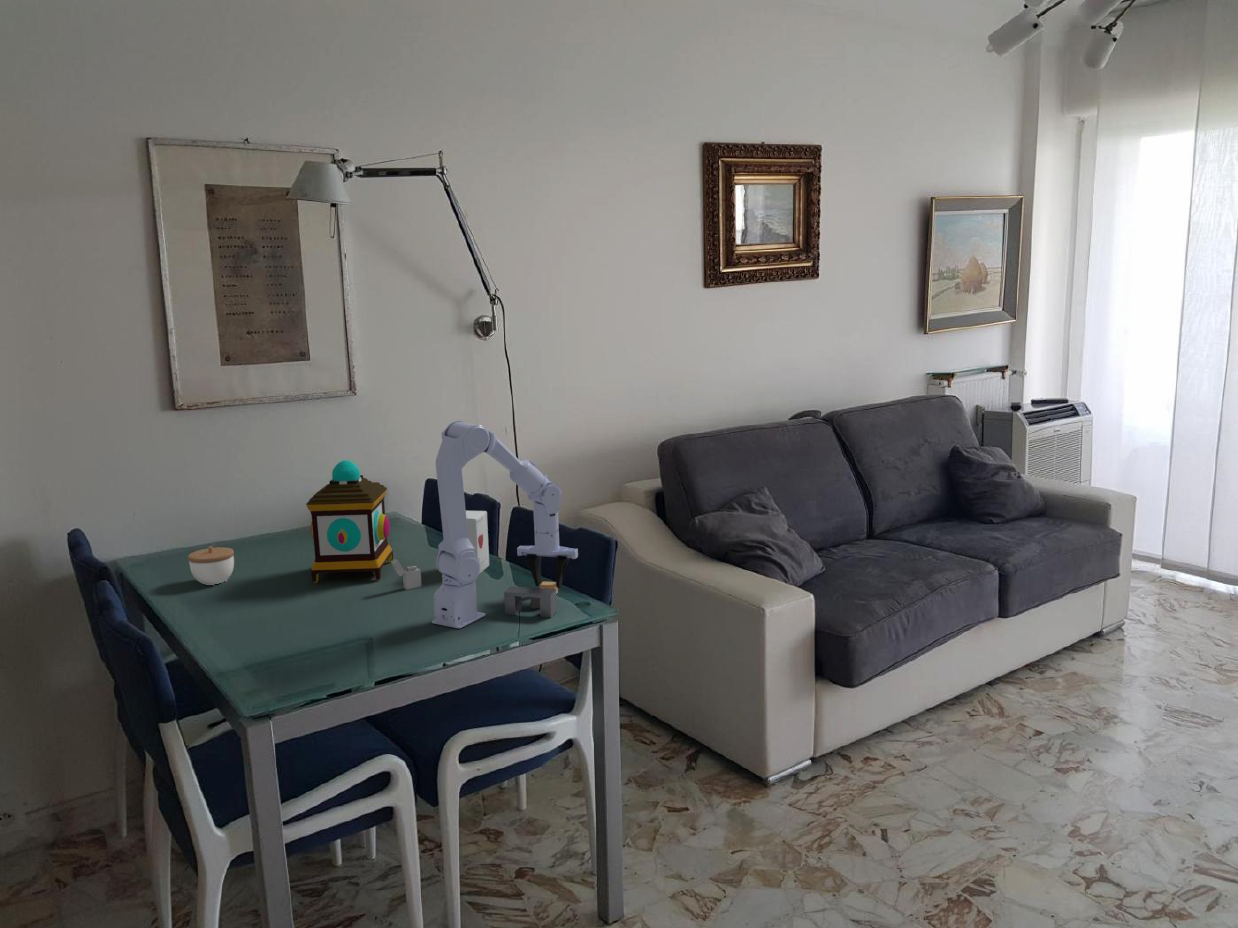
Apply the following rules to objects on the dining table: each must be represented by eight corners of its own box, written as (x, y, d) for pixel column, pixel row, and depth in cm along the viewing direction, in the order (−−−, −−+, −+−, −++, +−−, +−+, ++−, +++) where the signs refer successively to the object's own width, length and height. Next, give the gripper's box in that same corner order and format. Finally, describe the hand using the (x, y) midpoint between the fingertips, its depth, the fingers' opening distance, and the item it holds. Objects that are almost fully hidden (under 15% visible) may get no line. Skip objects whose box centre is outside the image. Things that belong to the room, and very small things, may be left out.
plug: (543, 609, 218) (543, 596, 217) (528, 607, 219) (528, 595, 218) (558, 594, 228) (557, 582, 227) (543, 593, 229) (543, 581, 228)
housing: (551, 617, 212) (550, 595, 211) (505, 614, 215) (504, 591, 214) (557, 611, 216) (556, 589, 215) (511, 608, 219) (510, 586, 218)
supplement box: (478, 575, 244) (475, 518, 241) (445, 574, 246) (442, 517, 243) (490, 565, 253) (487, 510, 250) (458, 563, 254) (455, 509, 252)
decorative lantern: (304, 585, 239) (293, 468, 234) (325, 562, 259) (316, 454, 253) (384, 582, 240) (375, 466, 234) (399, 560, 259) (392, 451, 254)
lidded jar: (198, 591, 237) (194, 555, 235) (186, 581, 245) (182, 546, 243) (242, 582, 243) (238, 546, 241) (228, 573, 251) (225, 538, 250)
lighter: (418, 584, 238) (416, 553, 236) (421, 586, 237) (419, 555, 235) (392, 590, 234) (390, 559, 232) (395, 592, 232) (393, 560, 231)
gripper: (581, 527, 226) (582, 582, 229) (523, 524, 230) (526, 578, 232) (571, 535, 219) (573, 591, 222) (513, 532, 223) (515, 587, 226)
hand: (548, 585), depth 227 cm, fingers open, 5 cm apart
